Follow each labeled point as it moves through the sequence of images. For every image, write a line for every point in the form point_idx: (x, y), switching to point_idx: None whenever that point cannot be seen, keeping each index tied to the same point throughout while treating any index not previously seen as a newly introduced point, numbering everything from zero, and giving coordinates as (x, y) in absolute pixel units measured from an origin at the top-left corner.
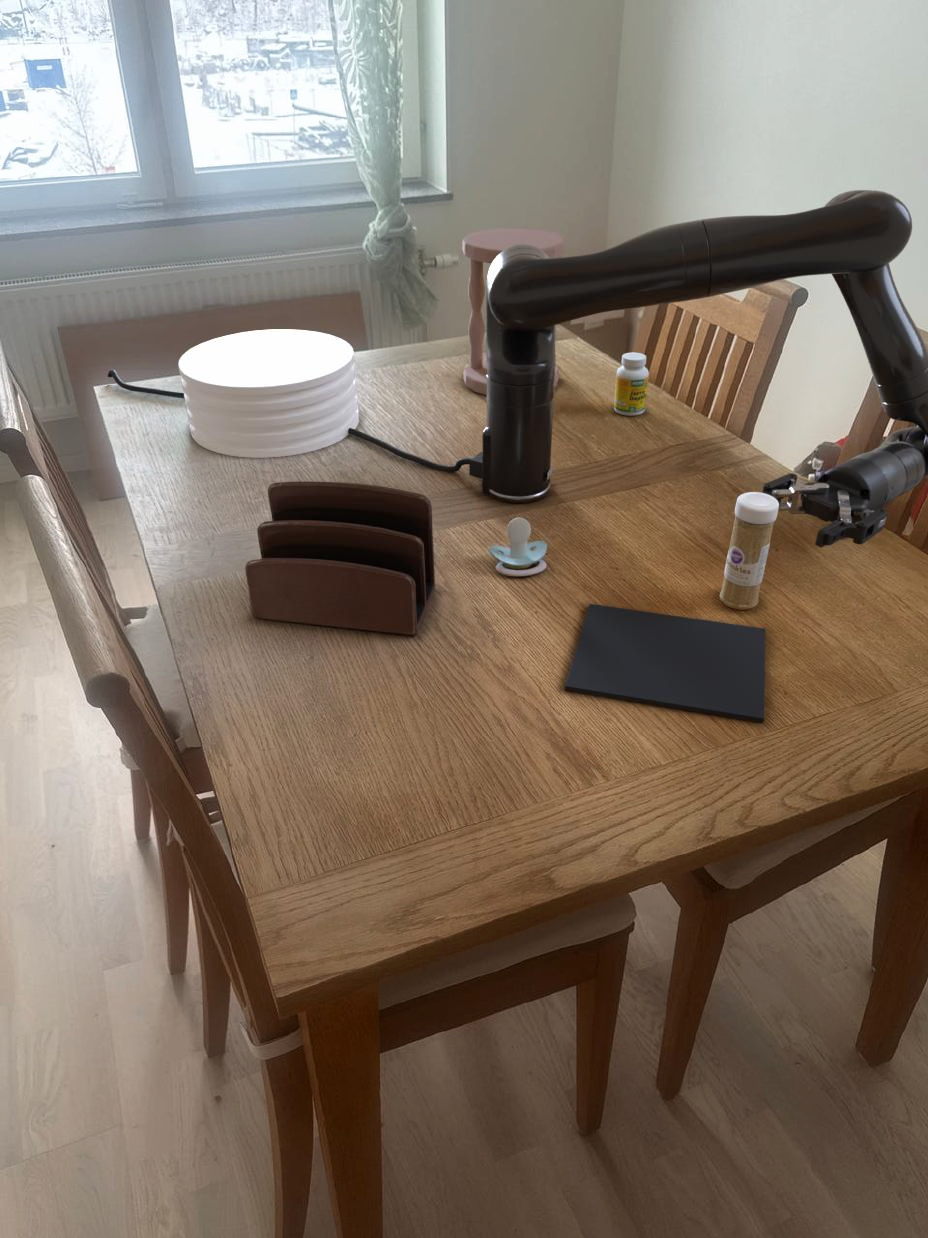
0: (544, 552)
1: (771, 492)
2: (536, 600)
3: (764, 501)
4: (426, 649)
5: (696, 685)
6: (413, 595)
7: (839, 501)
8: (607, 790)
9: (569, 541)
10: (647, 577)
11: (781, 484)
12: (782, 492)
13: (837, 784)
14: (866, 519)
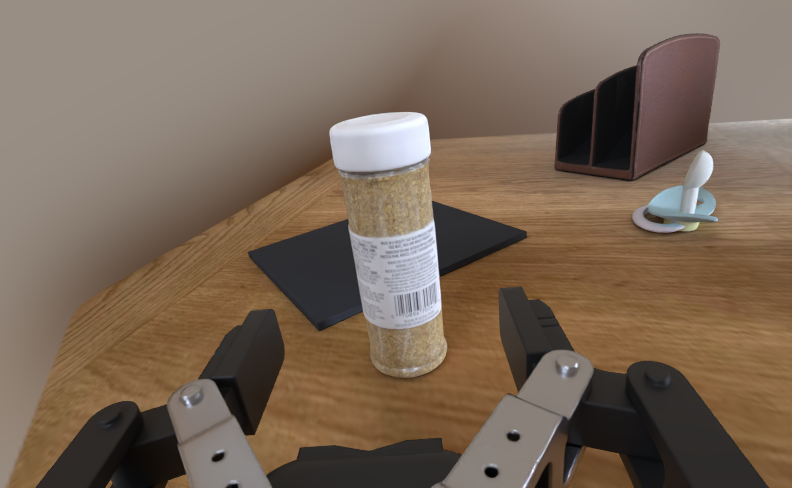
0: (666, 213)
1: (607, 385)
2: (572, 217)
3: (363, 122)
4: (534, 172)
5: (328, 239)
6: (557, 125)
7: (254, 461)
8: (321, 194)
9: (758, 275)
10: (568, 301)
11: (668, 455)
12: (551, 378)
13: (164, 258)
14: (90, 461)
